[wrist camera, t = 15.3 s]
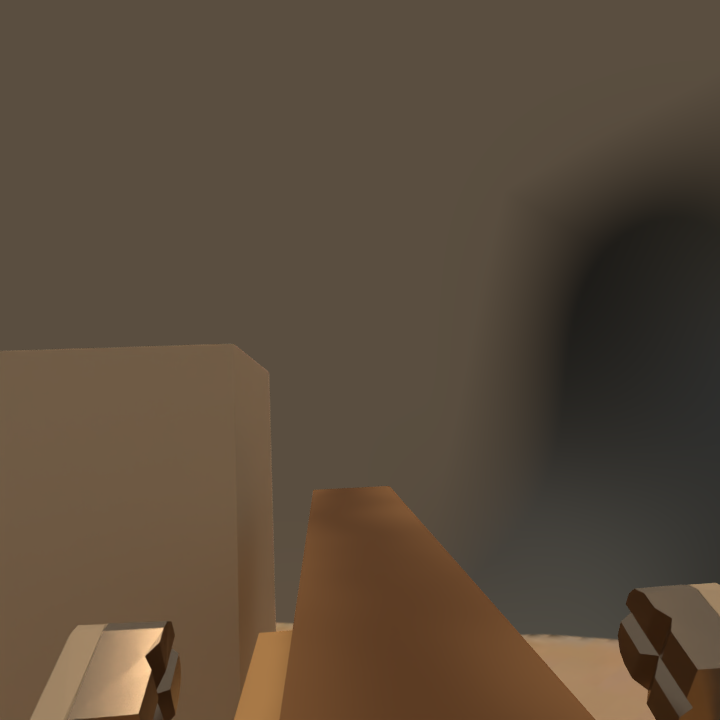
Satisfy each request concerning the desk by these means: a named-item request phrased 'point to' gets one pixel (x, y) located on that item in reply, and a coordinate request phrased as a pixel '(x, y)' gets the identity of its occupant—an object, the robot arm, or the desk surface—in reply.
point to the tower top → (265, 678)
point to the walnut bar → (403, 627)
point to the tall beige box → (135, 511)
